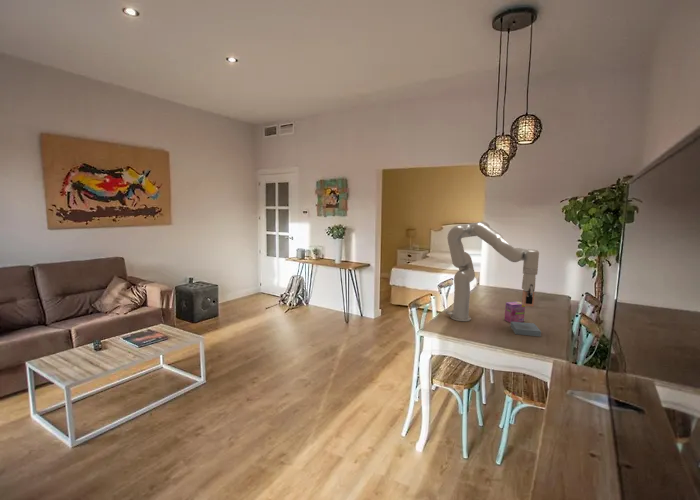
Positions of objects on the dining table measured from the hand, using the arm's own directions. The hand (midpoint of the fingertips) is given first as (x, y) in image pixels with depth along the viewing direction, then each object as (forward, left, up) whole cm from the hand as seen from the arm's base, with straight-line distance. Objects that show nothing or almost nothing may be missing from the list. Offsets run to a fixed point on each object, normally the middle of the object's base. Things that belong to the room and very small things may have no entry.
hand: (527, 302), depth 208 cm
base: (0, 0, -17) cm, 17 cm away
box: (-2, +19, -18) cm, 26 cm away
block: (0, 0, -2) cm, 2 cm away
